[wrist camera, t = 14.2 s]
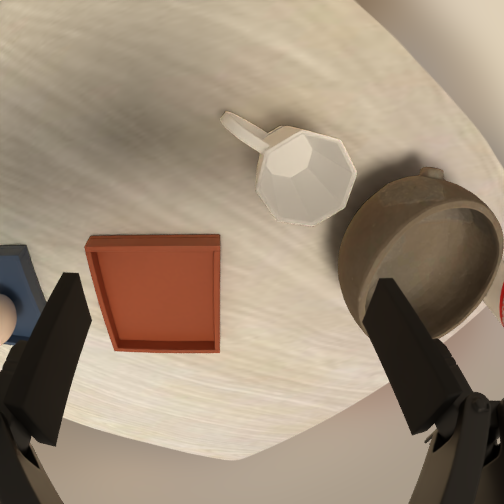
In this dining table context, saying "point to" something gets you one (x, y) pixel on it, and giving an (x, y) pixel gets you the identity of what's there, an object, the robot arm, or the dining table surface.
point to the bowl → (422, 250)
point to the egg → (7, 318)
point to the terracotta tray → (158, 291)
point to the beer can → (497, 295)
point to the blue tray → (21, 290)
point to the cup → (297, 171)
